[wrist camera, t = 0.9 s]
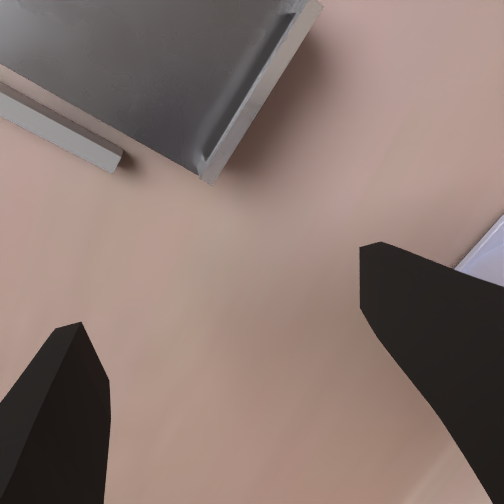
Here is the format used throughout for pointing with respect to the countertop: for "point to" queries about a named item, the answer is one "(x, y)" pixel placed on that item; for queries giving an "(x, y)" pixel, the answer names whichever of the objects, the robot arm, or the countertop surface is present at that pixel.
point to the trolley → (160, 65)
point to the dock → (58, 129)
